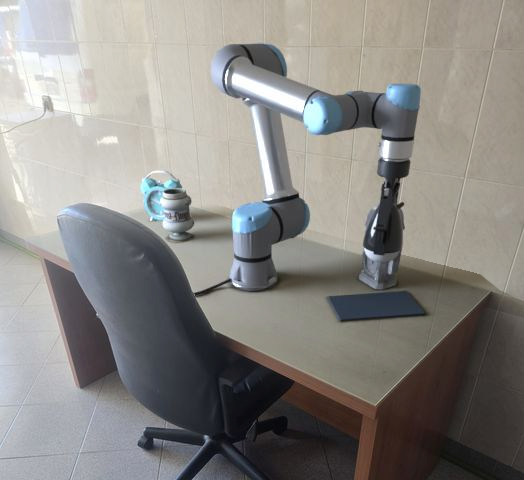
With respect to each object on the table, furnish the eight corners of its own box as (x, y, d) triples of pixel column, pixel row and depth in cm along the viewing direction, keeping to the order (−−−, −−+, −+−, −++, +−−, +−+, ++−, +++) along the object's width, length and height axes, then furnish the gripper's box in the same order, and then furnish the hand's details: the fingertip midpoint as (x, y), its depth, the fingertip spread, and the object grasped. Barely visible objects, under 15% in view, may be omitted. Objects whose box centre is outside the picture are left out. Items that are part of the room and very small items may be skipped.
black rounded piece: (408, 261, 124) (418, 203, 115) (378, 269, 120) (386, 210, 111) (383, 248, 131) (390, 193, 123) (353, 255, 127) (359, 199, 119)
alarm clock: (141, 222, 199) (133, 173, 188) (149, 215, 207) (142, 167, 196) (180, 223, 196) (175, 174, 185) (187, 216, 204) (182, 168, 193)
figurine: (381, 293, 140) (392, 210, 126) (352, 276, 151) (360, 197, 137) (405, 286, 144) (420, 205, 130) (376, 270, 154) (386, 193, 140)
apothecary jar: (159, 236, 184) (152, 189, 174) (186, 230, 190) (181, 184, 180) (173, 245, 175) (167, 197, 166) (201, 238, 181) (197, 191, 171)
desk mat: (340, 321, 126) (340, 319, 126) (327, 298, 138) (328, 296, 138) (425, 315, 129) (425, 313, 128) (405, 292, 140) (406, 290, 140)
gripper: (386, 148, 121) (376, 231, 134) (369, 167, 104) (359, 260, 116) (416, 150, 119) (403, 234, 131) (404, 169, 101) (389, 265, 114)
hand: (382, 247), depth 124 cm, fingers closed on black rounded piece, 10 cm apart
